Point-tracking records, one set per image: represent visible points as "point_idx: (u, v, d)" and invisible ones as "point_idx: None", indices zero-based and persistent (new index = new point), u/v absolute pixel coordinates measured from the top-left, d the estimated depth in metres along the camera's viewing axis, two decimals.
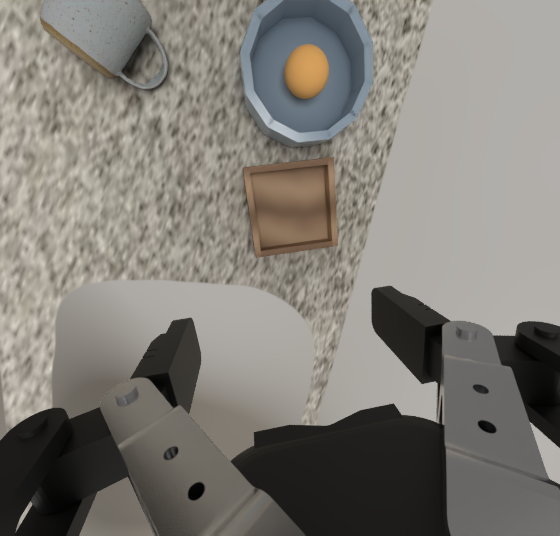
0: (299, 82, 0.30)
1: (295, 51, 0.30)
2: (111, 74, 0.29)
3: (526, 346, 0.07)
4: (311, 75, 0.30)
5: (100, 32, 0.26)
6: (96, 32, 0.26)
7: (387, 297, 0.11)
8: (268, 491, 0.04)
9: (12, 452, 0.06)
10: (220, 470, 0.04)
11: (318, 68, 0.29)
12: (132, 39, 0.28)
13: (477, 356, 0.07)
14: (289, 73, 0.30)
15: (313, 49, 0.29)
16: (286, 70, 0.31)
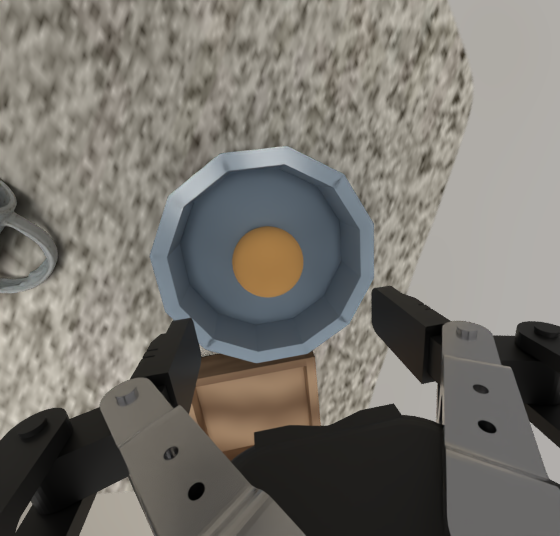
0: (253, 291, 0.18)
1: (245, 247, 0.18)
2: None
3: (526, 346, 0.07)
4: (272, 287, 0.18)
5: None
6: None
7: (387, 297, 0.11)
8: (268, 491, 0.04)
9: (12, 452, 0.06)
10: (220, 470, 0.04)
11: (283, 277, 0.18)
12: None
13: (477, 356, 0.07)
14: (237, 276, 0.18)
15: (274, 249, 0.17)
16: (233, 267, 0.19)
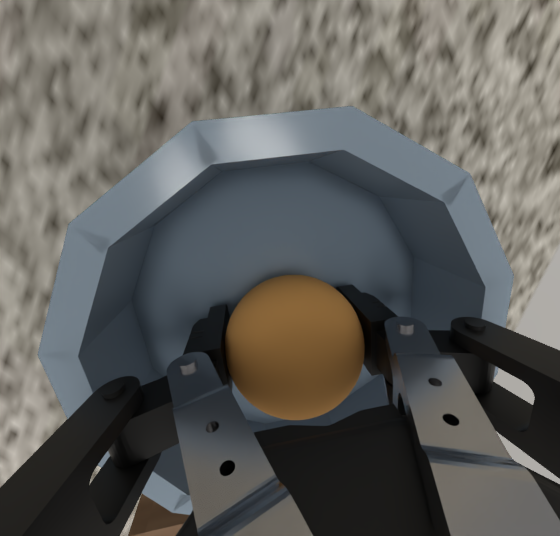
0: (268, 413, 0.09)
1: (251, 328, 0.08)
2: None
3: (462, 342, 0.08)
4: (309, 413, 0.08)
5: None
6: None
7: (345, 295, 0.11)
8: None
9: (96, 409, 0.06)
10: (251, 454, 0.04)
11: (333, 395, 0.08)
12: None
13: (406, 348, 0.07)
14: (235, 382, 0.09)
15: (315, 337, 0.08)
16: (226, 360, 0.09)
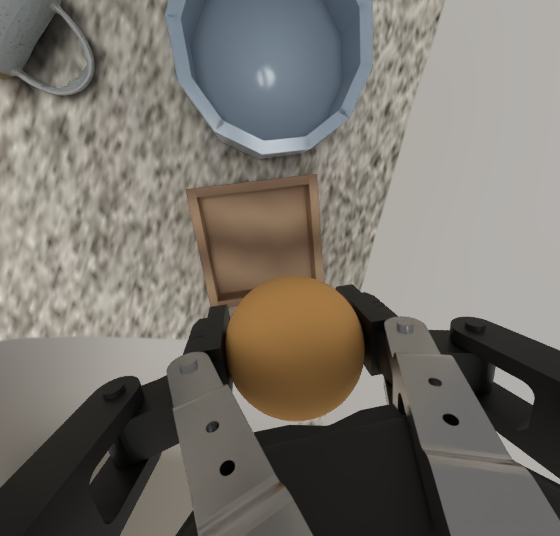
0: (268, 414, 0.09)
1: (252, 330, 0.08)
2: None
3: (461, 342, 0.08)
4: (309, 414, 0.08)
5: None
6: None
7: (345, 295, 0.11)
8: None
9: (96, 409, 0.06)
10: (251, 454, 0.04)
11: (333, 396, 0.08)
12: (25, 20, 0.18)
13: (406, 348, 0.07)
14: (235, 384, 0.09)
15: (316, 338, 0.08)
16: None
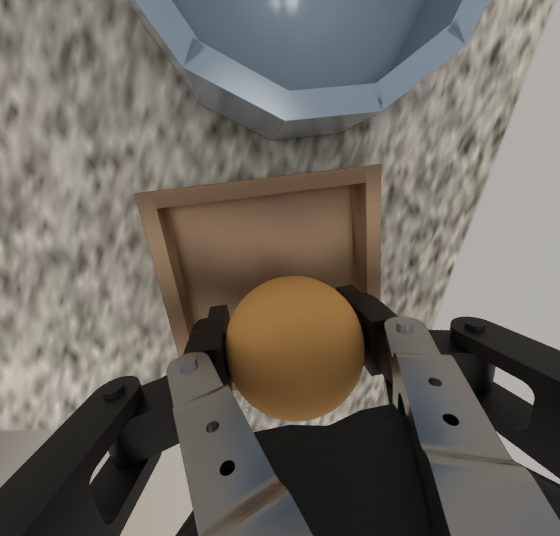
0: (268, 415, 0.09)
1: (251, 330, 0.08)
2: None
3: (462, 342, 0.08)
4: (309, 415, 0.08)
5: None
6: None
7: (345, 295, 0.11)
8: None
9: (96, 409, 0.06)
10: (251, 454, 0.04)
11: (333, 396, 0.08)
12: None
13: (406, 348, 0.07)
14: (235, 384, 0.09)
15: (316, 338, 0.08)
16: None
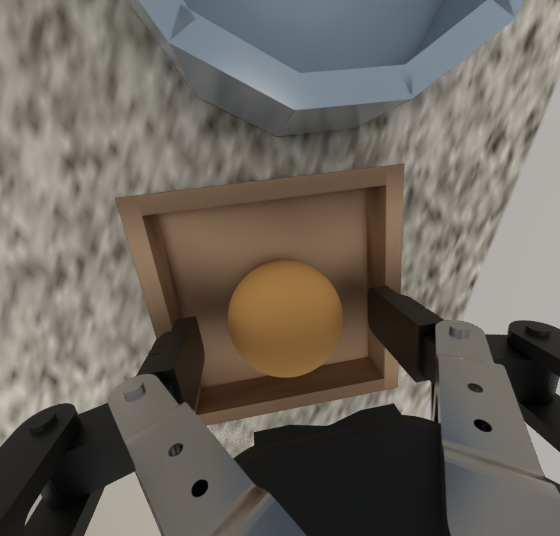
0: (263, 371, 0.11)
1: (249, 301, 0.10)
2: None
3: (518, 345, 0.07)
4: (296, 369, 0.10)
5: None
6: None
7: (382, 296, 0.11)
8: (268, 491, 0.04)
9: (23, 446, 0.06)
10: (223, 468, 0.04)
11: (315, 353, 0.10)
12: None
13: (468, 354, 0.07)
14: (236, 346, 0.11)
15: (300, 306, 0.10)
16: (229, 329, 0.11)
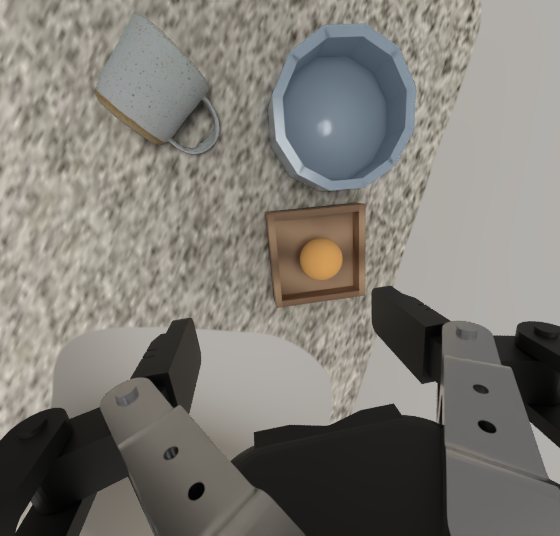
0: (314, 275, 0.32)
1: (311, 249, 0.31)
2: (162, 143, 0.27)
3: (526, 346, 0.07)
4: (326, 272, 0.31)
5: (159, 107, 0.24)
6: (155, 107, 0.24)
7: (387, 297, 0.11)
8: (268, 491, 0.04)
9: (12, 452, 0.06)
10: (219, 470, 0.04)
11: (333, 267, 0.31)
12: (188, 109, 0.26)
13: (477, 356, 0.07)
14: (305, 266, 0.32)
15: (328, 251, 0.31)
16: (301, 261, 0.32)
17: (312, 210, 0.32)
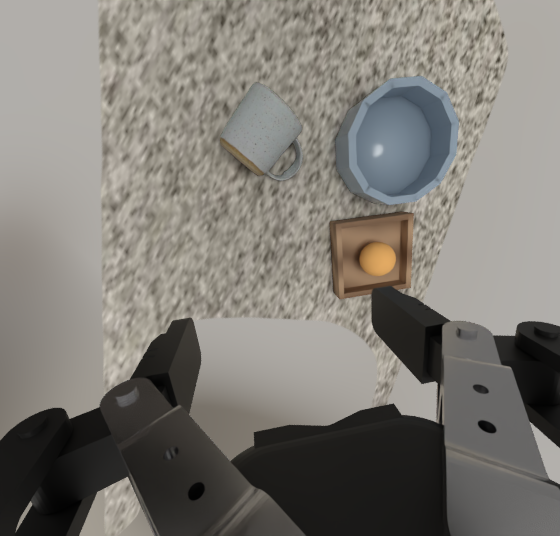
0: (374, 272, 0.39)
1: (372, 252, 0.39)
2: None
3: (526, 346, 0.07)
4: (384, 270, 0.39)
5: (271, 150, 0.32)
6: (268, 151, 0.32)
7: (387, 297, 0.11)
8: (268, 491, 0.04)
9: (12, 452, 0.06)
10: (219, 470, 0.04)
11: (390, 266, 0.39)
12: None
13: (477, 356, 0.07)
14: (366, 265, 0.40)
15: (386, 253, 0.38)
16: (363, 261, 0.40)
17: (371, 220, 0.39)
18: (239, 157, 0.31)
